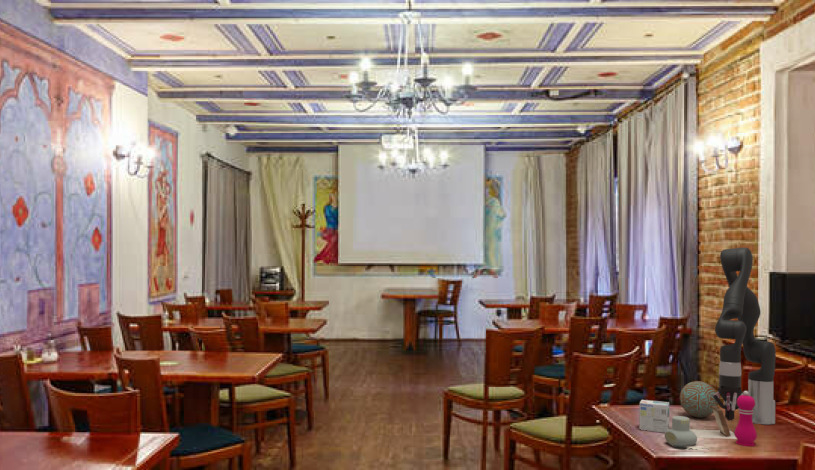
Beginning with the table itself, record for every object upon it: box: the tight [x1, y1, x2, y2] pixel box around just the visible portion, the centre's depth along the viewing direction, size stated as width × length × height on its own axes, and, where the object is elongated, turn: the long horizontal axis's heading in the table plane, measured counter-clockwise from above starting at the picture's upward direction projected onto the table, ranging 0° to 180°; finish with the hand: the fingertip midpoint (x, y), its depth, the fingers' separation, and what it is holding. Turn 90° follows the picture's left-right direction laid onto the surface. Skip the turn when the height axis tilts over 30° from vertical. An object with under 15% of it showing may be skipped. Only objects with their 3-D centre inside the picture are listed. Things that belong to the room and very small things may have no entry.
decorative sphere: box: [679, 380, 719, 419], centre depth 303 cm, size 15×15×15 cm
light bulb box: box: [638, 399, 670, 434], centre depth 281 cm, size 11×7×11 cm, turn 65°
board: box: [690, 428, 738, 440], centre depth 271 cm, size 20×12×1 cm, turn 84°
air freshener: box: [664, 415, 698, 449], centre depth 258 cm, size 11×8×10 cm
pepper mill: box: [734, 390, 758, 447], centre depth 258 cm, size 7×7×20 cm
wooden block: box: [712, 406, 731, 437], centre depth 270 cm, size 2×7×10 cm, turn 174°
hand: (729, 420), depth 270 cm, fingers closed
